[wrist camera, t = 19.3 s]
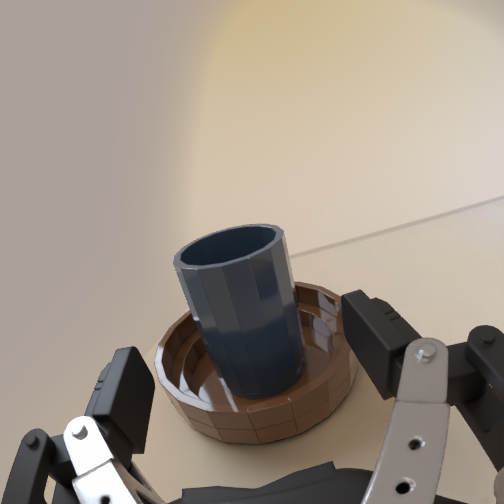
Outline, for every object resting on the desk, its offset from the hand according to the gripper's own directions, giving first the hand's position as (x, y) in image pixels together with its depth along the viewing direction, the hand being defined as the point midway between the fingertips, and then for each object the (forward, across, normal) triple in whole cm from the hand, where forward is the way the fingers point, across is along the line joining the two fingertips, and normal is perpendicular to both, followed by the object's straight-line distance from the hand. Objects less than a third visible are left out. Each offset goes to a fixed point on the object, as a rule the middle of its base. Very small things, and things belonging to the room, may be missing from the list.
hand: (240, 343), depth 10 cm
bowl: (+8, 0, +9) cm, 12 cm away
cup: (+8, 0, +9) cm, 12 cm away
